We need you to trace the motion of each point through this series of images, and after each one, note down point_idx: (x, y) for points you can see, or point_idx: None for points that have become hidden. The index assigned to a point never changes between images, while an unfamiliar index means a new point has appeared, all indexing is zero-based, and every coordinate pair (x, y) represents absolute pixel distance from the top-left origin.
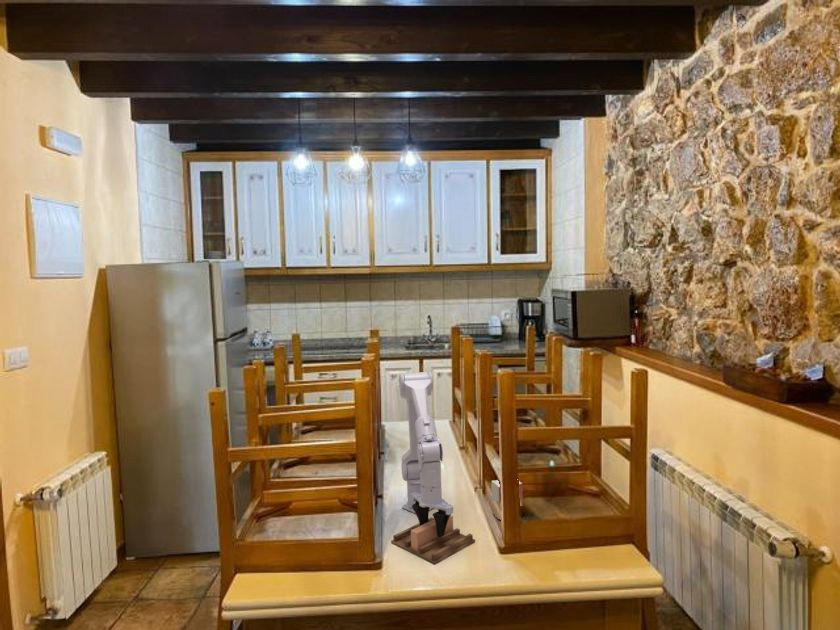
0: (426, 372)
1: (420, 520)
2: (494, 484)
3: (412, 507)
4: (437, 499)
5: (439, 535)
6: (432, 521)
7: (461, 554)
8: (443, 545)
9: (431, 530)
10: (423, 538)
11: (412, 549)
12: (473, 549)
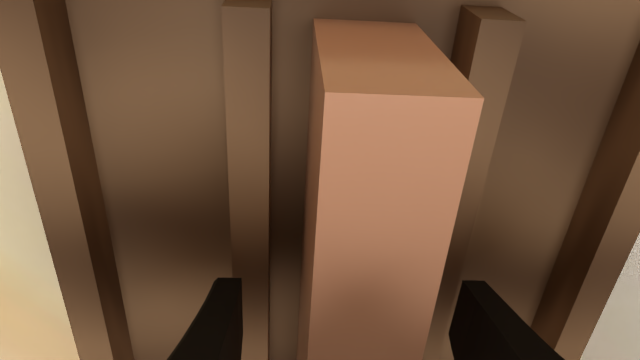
0: None
1: (516, 353)
2: None
3: None
4: None
5: (209, 292)
6: None
7: (19, 245)
8: (208, 245)
9: (308, 299)
10: (311, 154)
11: (390, 12)
12: (29, 336)
